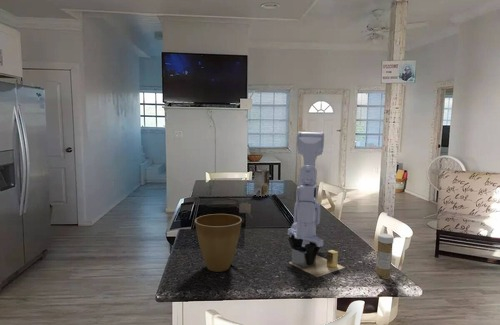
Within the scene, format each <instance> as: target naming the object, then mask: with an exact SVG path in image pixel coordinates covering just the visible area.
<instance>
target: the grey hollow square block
mask: <svg viewBox="0 0 500 325" xmlns="http://www.w3.org/2000/svg"><path fill="white" fill-rule="evenodd" d="M290 262H291V263H293V264H295V265H297V266H299V267H301V268H303V269H304V268H307V267H311V266H314V265H316V257H315V260H314V263H313V264H312V265H308V264H307V251H306V248H305V245H303V246H299V247H295V248H292V247H291V261H290Z"/></svg>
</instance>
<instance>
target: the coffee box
mask: <svg viewBox="0 0 500 325" xmlns="http://www.w3.org/2000/svg"><path fill="white" fill-rule="evenodd" d="M253 173H254V174H253V196H254V195H256V196H255V197H259V196H261V197H260V198H263V197H266V196H269V195H270V170H267V169H257V170H254V171H253ZM265 195H266V196H265ZM262 196H263V197H262Z"/></svg>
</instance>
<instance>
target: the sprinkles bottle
mask: <svg viewBox="0 0 500 325" xmlns="http://www.w3.org/2000/svg"><path fill="white" fill-rule="evenodd" d="M394 240H395V239H394V235H392V234H390V233H378V235H377V249H376V250H377V251H376V252H377V253H376V263H375V274H376V275H378V276H379V279H382V280H388V279H390V278H391V269H392V268H391V267H392V259H393V258H392V257H393V244H394Z"/></svg>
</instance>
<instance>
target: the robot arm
mask: <svg viewBox="0 0 500 325" xmlns="http://www.w3.org/2000/svg"><path fill="white" fill-rule="evenodd" d="M296 147H297V153H298V155H301V156H302V157H303V166H302V167H301V168H299V174H298V175H299V176H298V185H297V186H296V192H295V193H296V195H295V196H296V197H295V199H296V201H295V203H294V209H293V223H292V224H291V226H290V228H288V229H287V235H288V236H290V237H288V238H287V240H288V242H289V244H290V246H291V249H292V248H295V247H299V246H303V245H305V248H306V251H307V264H308V265H312V264H313V263H314V260H315V257H316V255H318V253H319V251H320V249H321V248H322V247H324V239H322V238H320V237H319V236H318V235H317V234H316V233H317V232H316V231H317V225H319V224H320V223H321V205H320V202H318V199H317V198H318V184H317V178H318V177H317V176H318V173H317V172H318V171H317V169H316V160H317V158H318V156H321V155H322V154H323V152H324V147H325V133H324V132H323V131H320V132H318V131H316V132H315V131H300V130H299V131H297V136H296Z"/></svg>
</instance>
